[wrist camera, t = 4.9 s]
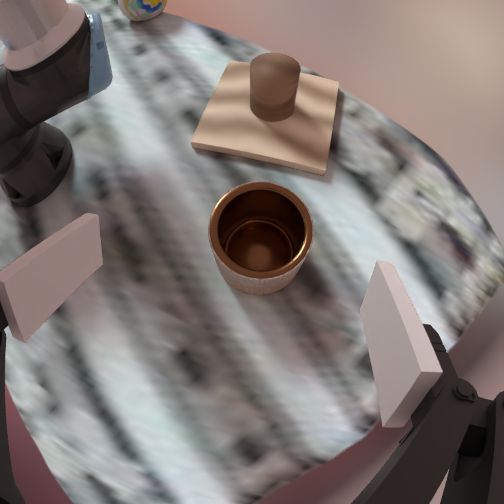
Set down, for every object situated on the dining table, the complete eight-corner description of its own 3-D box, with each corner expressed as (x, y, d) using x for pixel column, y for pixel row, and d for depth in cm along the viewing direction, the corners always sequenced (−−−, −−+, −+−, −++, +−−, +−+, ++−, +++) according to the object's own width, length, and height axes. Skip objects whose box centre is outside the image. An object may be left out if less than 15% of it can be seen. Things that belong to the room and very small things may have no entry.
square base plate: (323, 175, 44) (340, 134, 34) (192, 147, 45) (180, 103, 36) (337, 87, 49) (349, 46, 40) (230, 66, 51) (227, 24, 41)
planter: (316, 243, 41) (333, 215, 32) (270, 313, 38) (277, 303, 29) (247, 200, 43) (247, 163, 34) (199, 264, 40) (185, 241, 31)
